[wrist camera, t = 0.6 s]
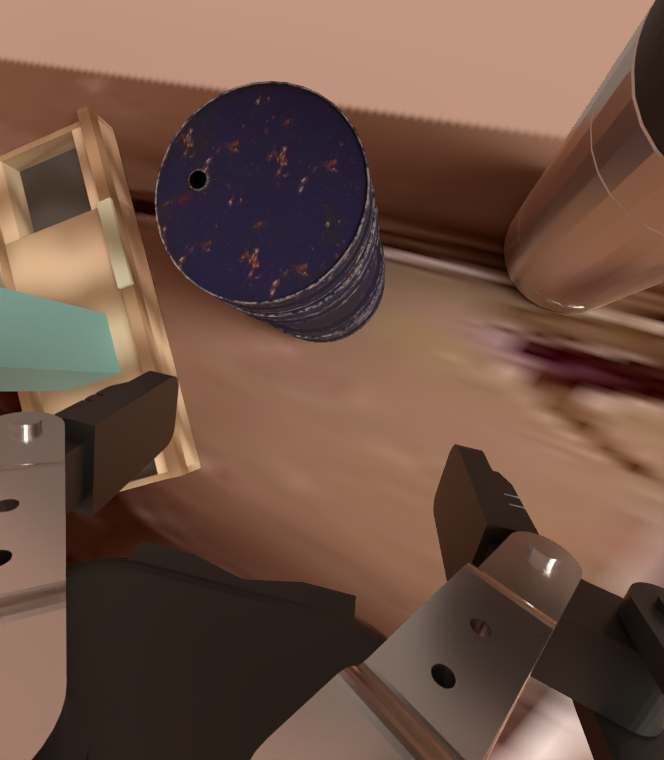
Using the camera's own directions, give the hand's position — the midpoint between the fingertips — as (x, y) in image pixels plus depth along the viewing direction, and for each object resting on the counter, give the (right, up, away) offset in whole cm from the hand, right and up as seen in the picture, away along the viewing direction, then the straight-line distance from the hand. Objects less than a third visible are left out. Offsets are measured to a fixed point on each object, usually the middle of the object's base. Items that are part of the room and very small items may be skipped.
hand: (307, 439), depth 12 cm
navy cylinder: (0, +9, +21) cm, 23 cm away
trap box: (-20, +7, +24) cm, 32 cm away
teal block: (-19, +4, +22) cm, 29 cm away
